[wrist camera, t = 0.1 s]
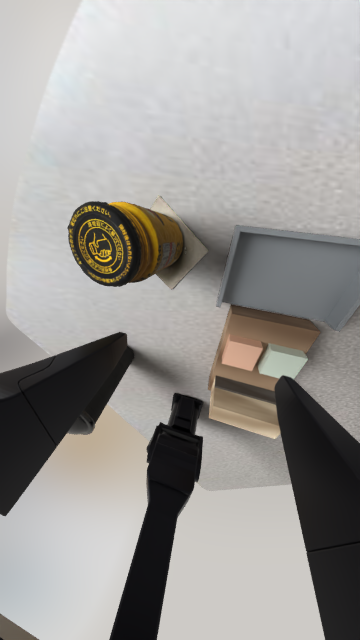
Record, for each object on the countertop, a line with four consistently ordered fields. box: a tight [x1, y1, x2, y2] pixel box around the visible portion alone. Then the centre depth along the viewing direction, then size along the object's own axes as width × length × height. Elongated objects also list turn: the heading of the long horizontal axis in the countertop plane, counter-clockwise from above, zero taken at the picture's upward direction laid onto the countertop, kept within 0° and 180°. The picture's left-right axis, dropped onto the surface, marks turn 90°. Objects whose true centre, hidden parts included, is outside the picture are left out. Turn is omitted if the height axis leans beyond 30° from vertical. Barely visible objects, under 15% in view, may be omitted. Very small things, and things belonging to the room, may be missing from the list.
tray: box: [216, 225, 360, 332], centre depth 18 cm, size 9×14×2 cm, turn 84°
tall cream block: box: [209, 375, 281, 439], centre depth 23 cm, size 3×9×5 cm, turn 83°
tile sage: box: [258, 343, 308, 379], centre depth 20 cm, size 4×4×2 cm
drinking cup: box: [67, 346, 134, 435], centre depth 24 cm, size 8×8×20 cm
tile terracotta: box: [222, 334, 263, 371], centre depth 21 cm, size 4×4×2 cm
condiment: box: [68, 195, 208, 290], centre depth 16 cm, size 7×8×12 cm
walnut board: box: [208, 305, 320, 391], centre depth 24 cm, size 15×10×3 cm, turn 174°
